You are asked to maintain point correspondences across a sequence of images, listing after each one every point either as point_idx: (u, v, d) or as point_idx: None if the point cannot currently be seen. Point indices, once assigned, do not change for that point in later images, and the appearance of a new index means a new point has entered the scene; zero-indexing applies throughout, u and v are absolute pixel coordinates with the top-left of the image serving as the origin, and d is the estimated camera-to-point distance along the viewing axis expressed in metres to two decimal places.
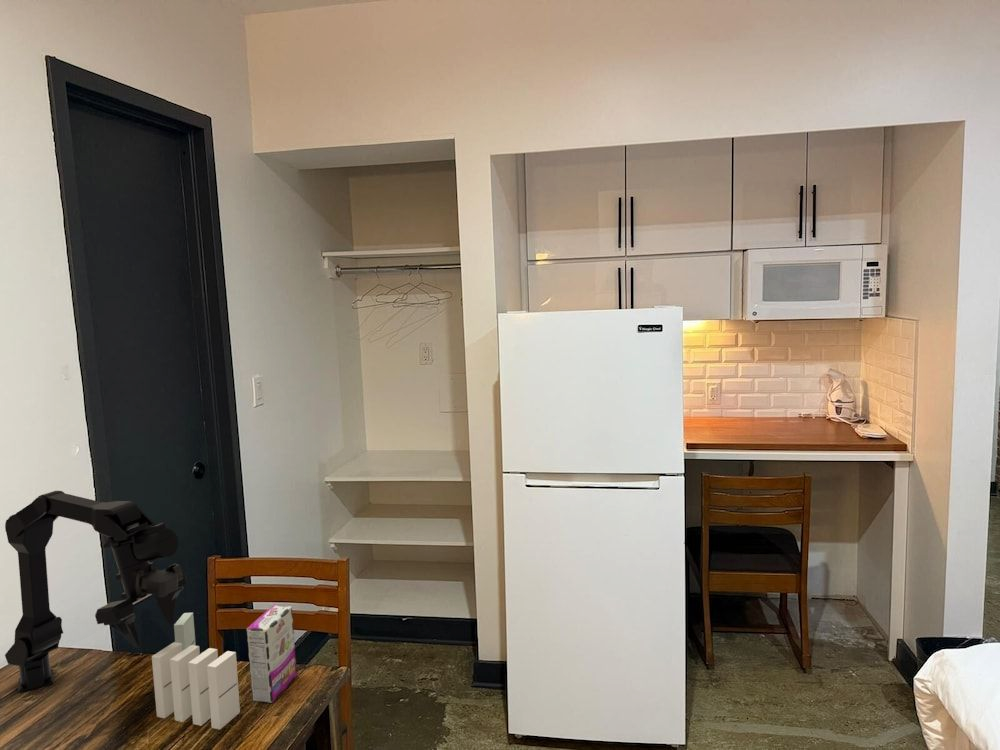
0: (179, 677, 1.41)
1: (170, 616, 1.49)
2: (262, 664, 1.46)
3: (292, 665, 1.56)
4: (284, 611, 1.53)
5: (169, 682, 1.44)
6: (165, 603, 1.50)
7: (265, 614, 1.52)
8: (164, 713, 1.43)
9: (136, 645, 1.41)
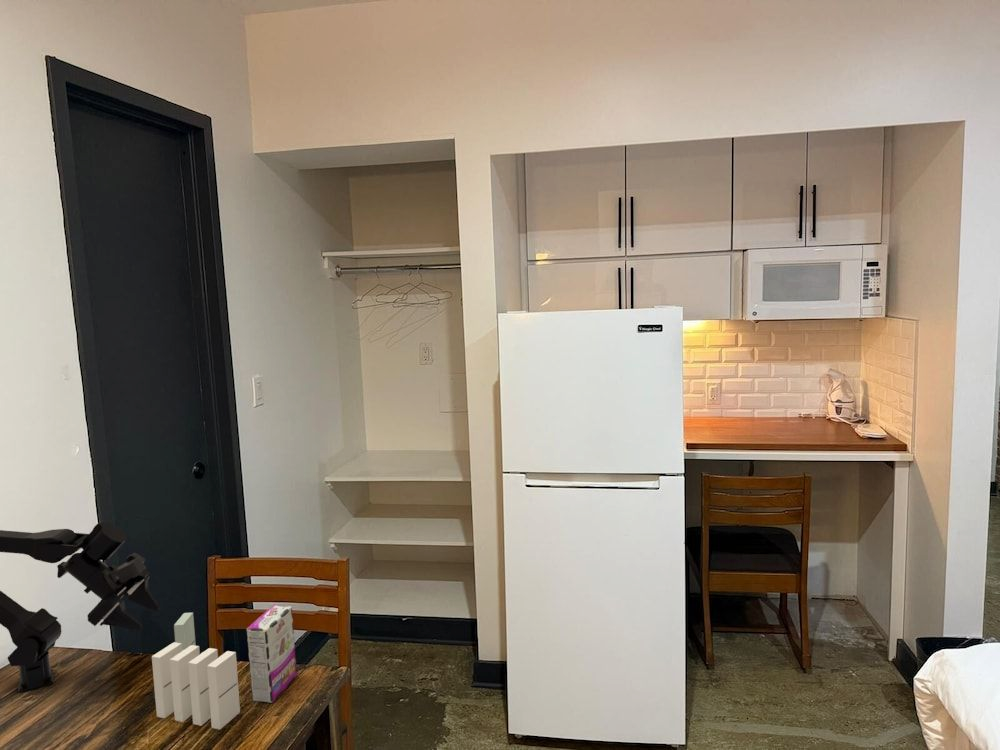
0: (179, 677, 1.41)
1: (152, 602, 1.62)
2: (262, 664, 1.46)
3: (292, 665, 1.56)
4: (284, 611, 1.53)
5: (169, 682, 1.44)
6: (141, 596, 1.62)
7: (265, 614, 1.52)
8: (164, 713, 1.43)
9: (139, 627, 1.53)
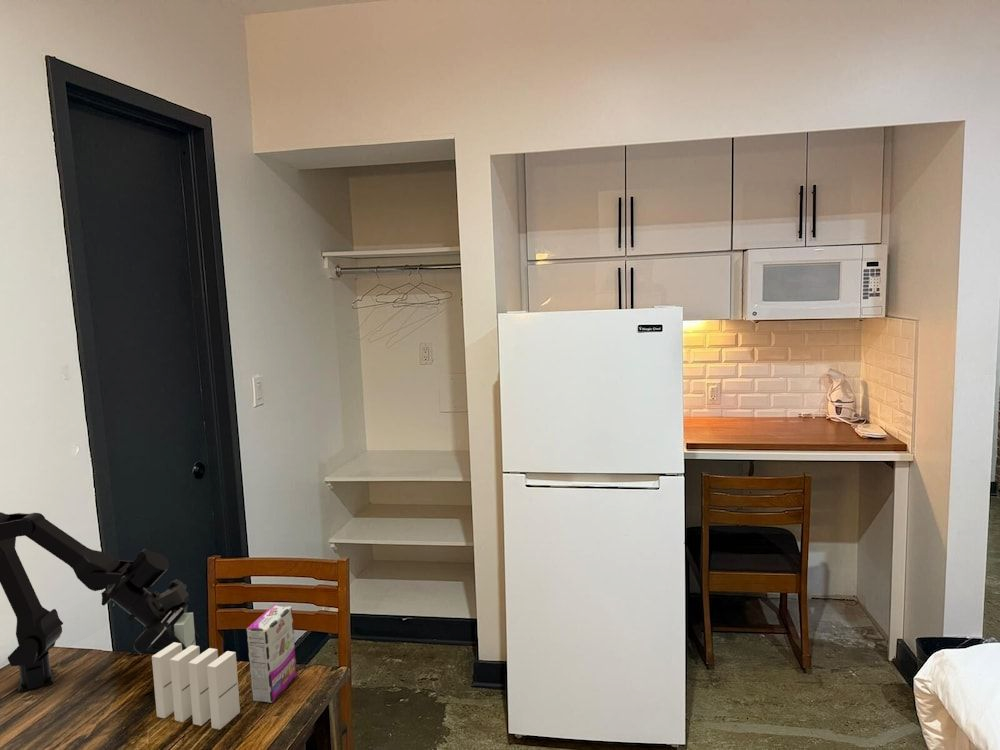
0: (179, 677, 1.41)
1: None
2: (262, 664, 1.46)
3: (292, 665, 1.56)
4: (284, 611, 1.53)
5: (169, 682, 1.44)
6: None
7: (265, 614, 1.52)
8: (164, 713, 1.43)
9: None
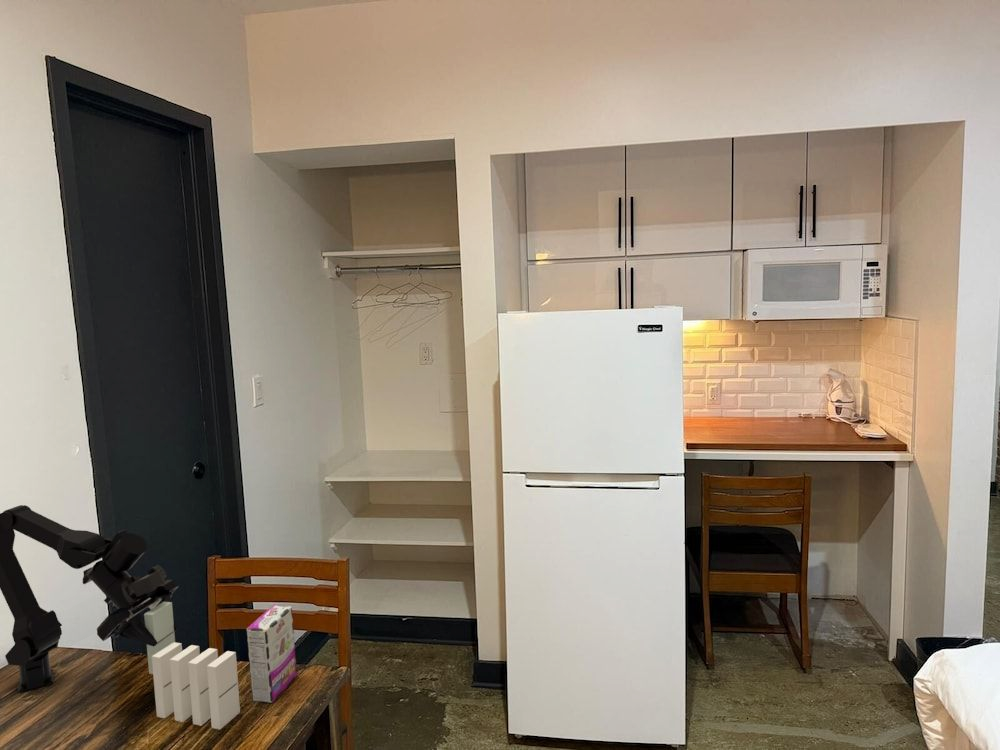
0: (179, 677, 1.41)
1: None
2: (262, 664, 1.46)
3: (292, 665, 1.56)
4: (284, 611, 1.53)
5: (169, 682, 1.44)
6: None
7: (265, 614, 1.52)
8: (164, 713, 1.43)
9: (154, 643, 1.45)
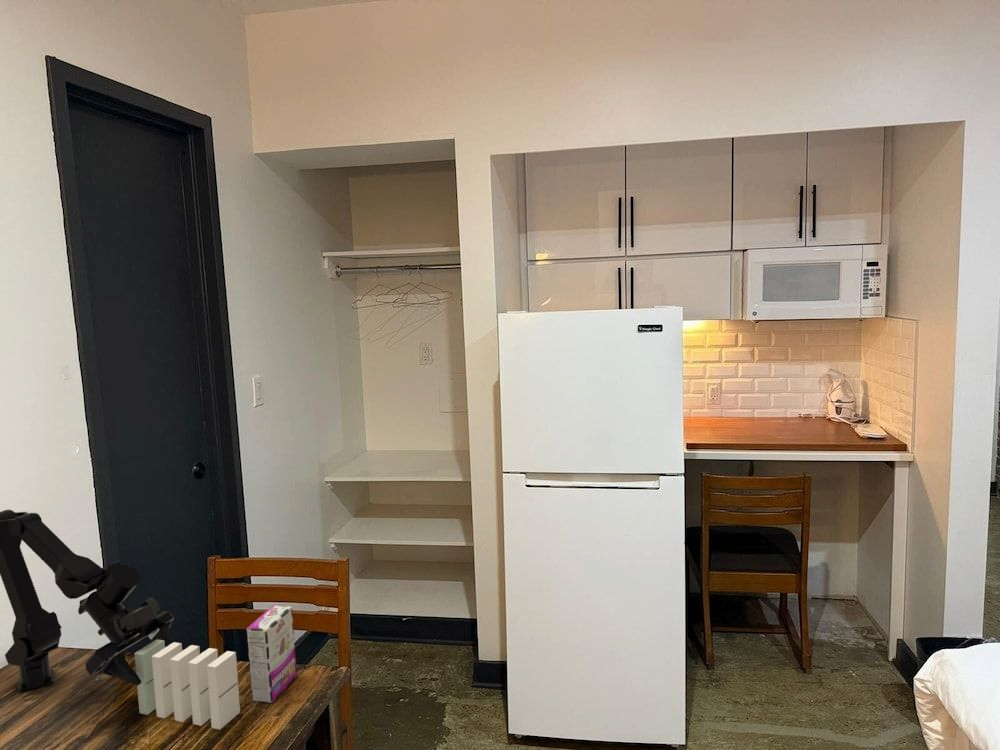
0: (179, 677, 1.41)
1: None
2: (262, 664, 1.46)
3: (292, 665, 1.56)
4: (284, 611, 1.53)
5: (169, 682, 1.44)
6: None
7: (265, 614, 1.52)
8: (164, 713, 1.43)
9: (138, 682, 1.42)
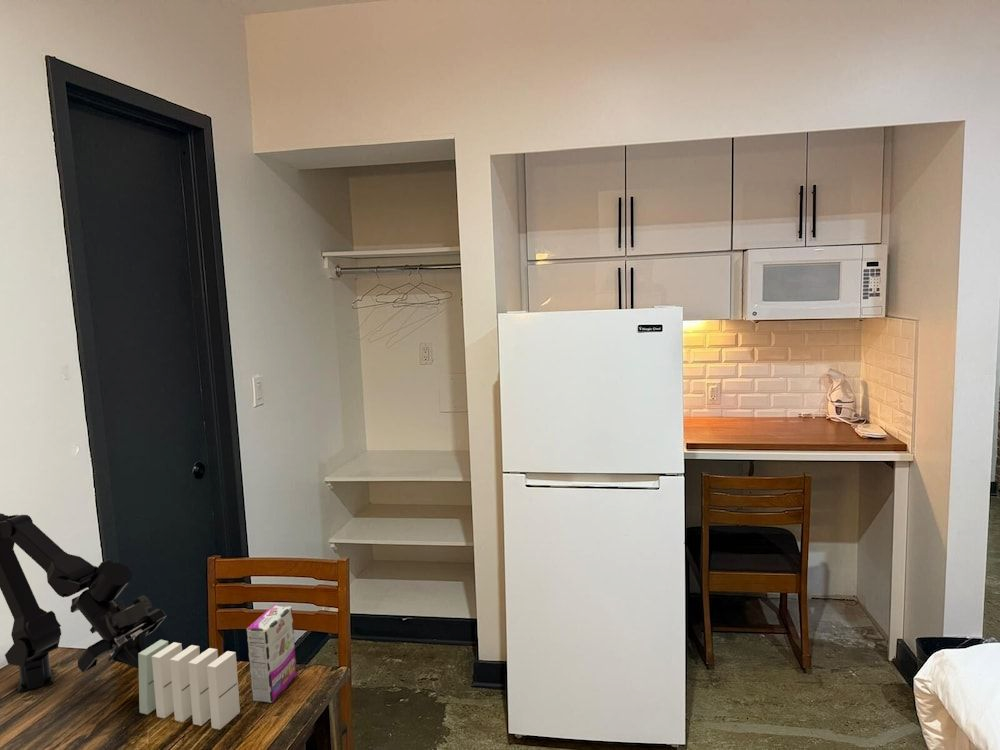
0: (179, 677, 1.41)
1: None
2: (262, 664, 1.46)
3: (292, 665, 1.56)
4: (284, 611, 1.53)
5: (169, 682, 1.44)
6: None
7: (265, 614, 1.52)
8: (164, 713, 1.43)
9: None
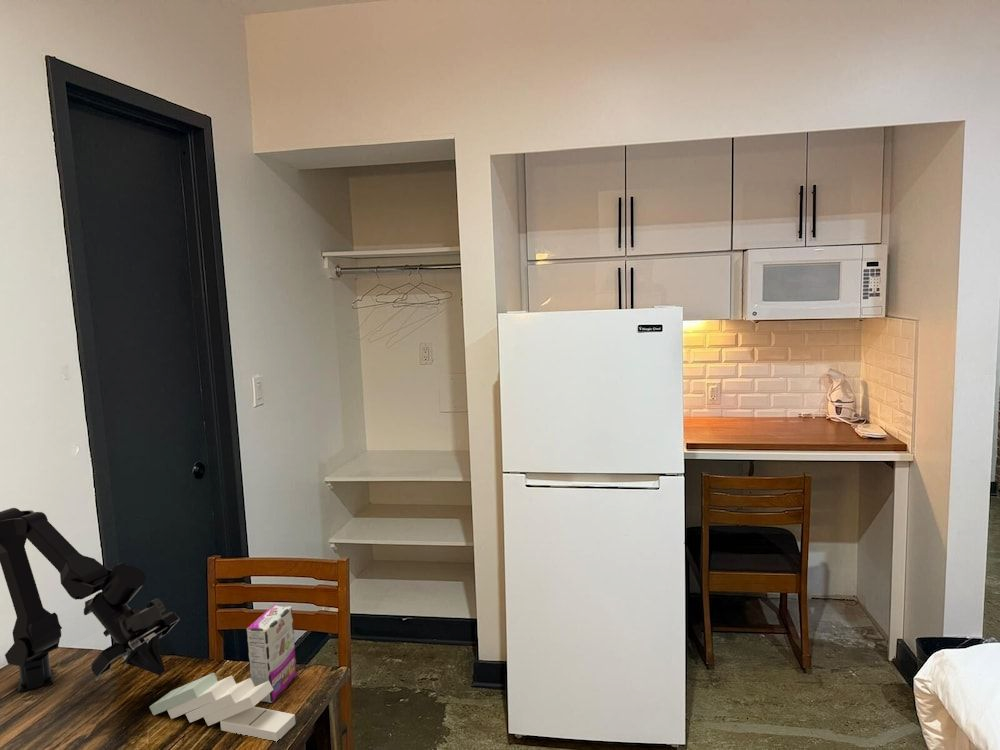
0: (222, 708, 1.38)
1: (158, 663, 1.46)
2: (262, 664, 1.46)
3: (292, 665, 1.56)
4: (284, 611, 1.53)
5: None
6: None
7: (265, 614, 1.52)
8: (174, 717, 1.42)
9: (160, 672, 1.45)
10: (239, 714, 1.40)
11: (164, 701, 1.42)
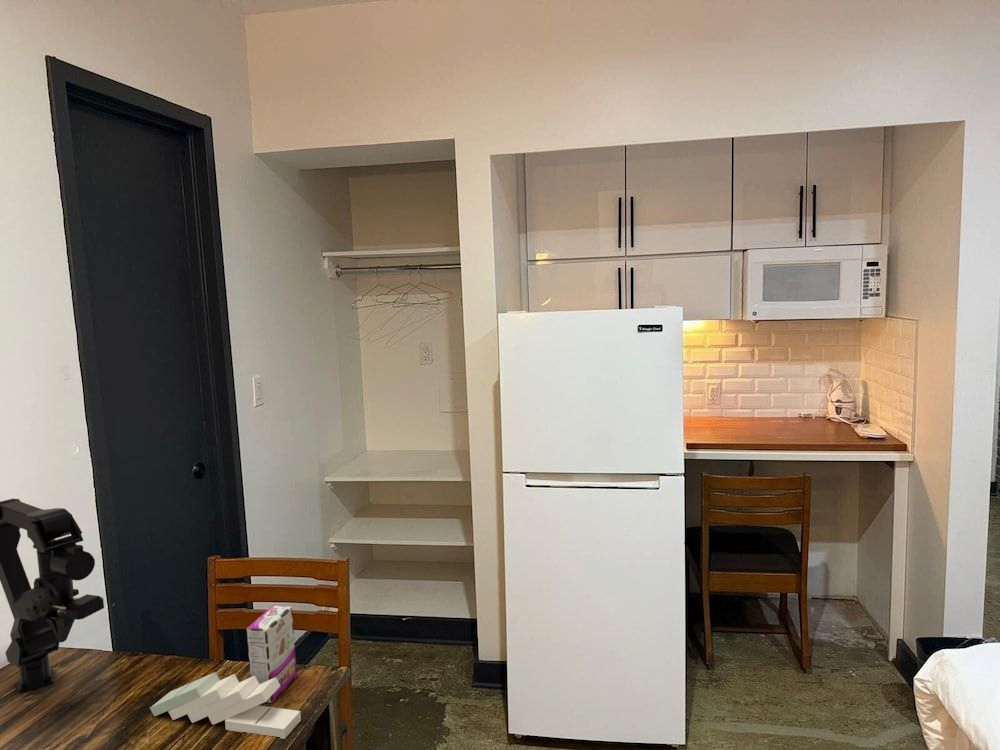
0: None
1: None
2: (262, 664, 1.46)
3: (292, 665, 1.56)
4: (284, 611, 1.53)
5: None
6: None
7: (265, 614, 1.52)
8: (176, 718, 1.42)
9: None
10: (243, 713, 1.41)
11: (165, 702, 1.42)
